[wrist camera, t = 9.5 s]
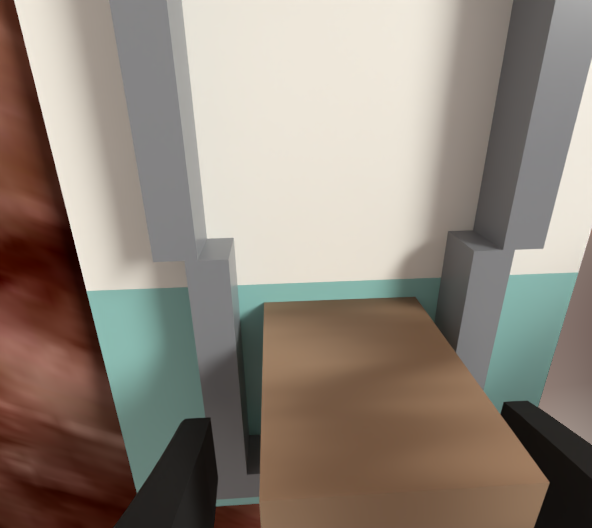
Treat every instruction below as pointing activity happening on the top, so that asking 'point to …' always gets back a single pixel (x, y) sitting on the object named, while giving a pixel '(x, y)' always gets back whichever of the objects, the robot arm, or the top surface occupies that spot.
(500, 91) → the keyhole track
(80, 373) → the top surface
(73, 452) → the top surface
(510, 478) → the walnut block
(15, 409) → the top surface
